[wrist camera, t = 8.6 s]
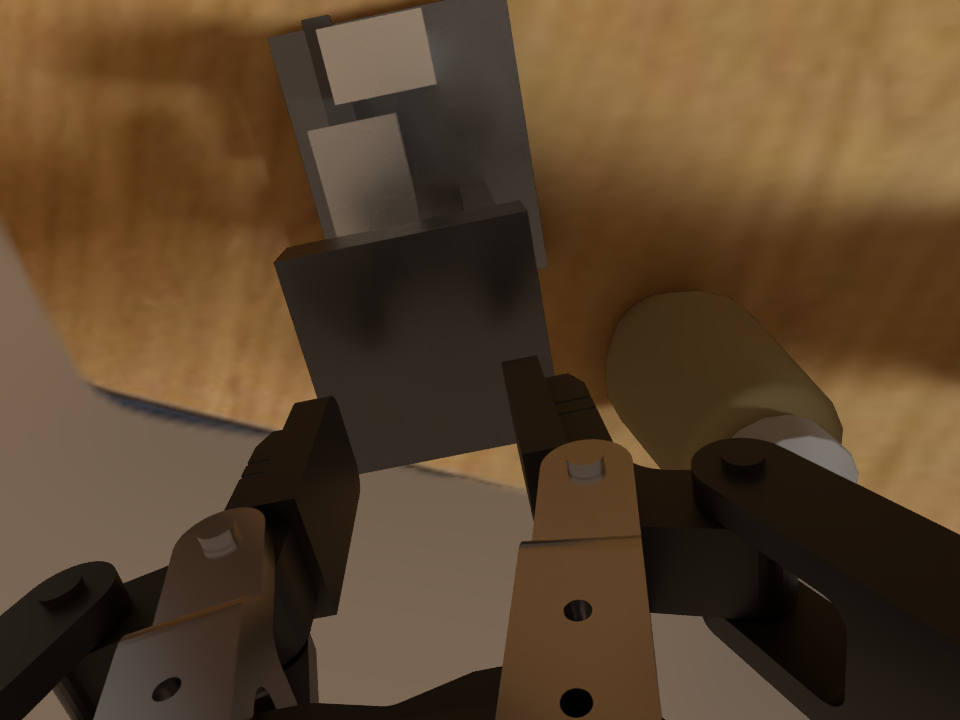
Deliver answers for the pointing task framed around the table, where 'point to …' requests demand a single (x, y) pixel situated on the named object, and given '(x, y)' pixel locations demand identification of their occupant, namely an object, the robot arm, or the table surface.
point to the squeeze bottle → (715, 384)
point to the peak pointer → (325, 73)
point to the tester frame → (424, 102)
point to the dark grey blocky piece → (411, 305)
